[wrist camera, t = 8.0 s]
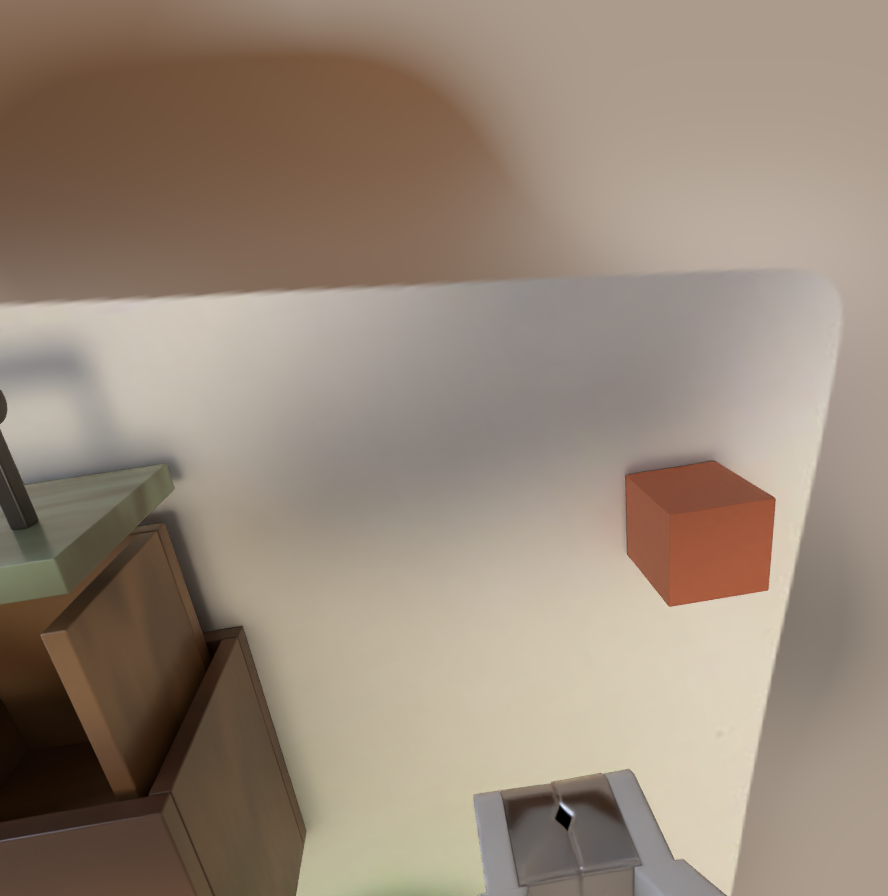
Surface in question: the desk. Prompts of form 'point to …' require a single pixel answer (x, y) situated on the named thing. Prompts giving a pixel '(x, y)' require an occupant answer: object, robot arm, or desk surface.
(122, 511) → the drawer
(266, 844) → the cabinet
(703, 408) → the desk surface
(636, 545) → the block
